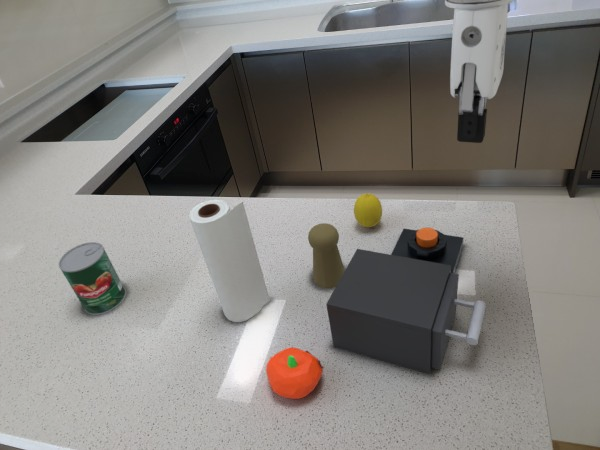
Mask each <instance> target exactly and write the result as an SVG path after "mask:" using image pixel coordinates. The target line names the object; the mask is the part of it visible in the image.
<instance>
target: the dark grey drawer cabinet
mask: <svg viewBox="0 0 600 450" xmlns="http://www.w3.org/2000/svg"><path fill="white" fill-rule="evenodd" d="M450 273H451V265H445V264H440V263H434V262H429V261H423V260H417V259H412V258H406V257H401V256H395V255H391V254H389V253H383V252H378V251H372V250H367V249H361V248H356V250H355V252H354V254H353V255H352V257H351V259H350V261H349V262H348V264H347V266H346V267H345V271H344V273H343V275H342V277H341V279H340V280H339V282H338V284H337V286H336V287H334V288H333V291H332V293H331V295H330V297H328V300H327V302H326V310H327V315H328V322H329V327H330V333H331V339H332V346H333V348H335V349H338V350H342V351H346V352H350V353H353V354H355V355H356V354H357V355H360V356H363V357H366V358H367V357H368V358H371V359H374V360H377V361H381V362H385V363H388V364H392V365H395V366H397V367H398V366H399V367H402V368H406V369H409V370H413V371H417V372H420V373H424V374H427V375H431V373H432V370H433V368H432V367H431V359H432V328H433V325H434V322H435V319H436V315H437V312H438V309H439V307H440V304H441V301H442V297H443V294H444V291H445V288H446V285H447V282H448V279H449V275H450Z"/></svg>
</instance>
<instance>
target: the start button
mask: <svg viewBox="0 0 600 450" xmlns="http://www.w3.org/2000/svg"><path fill="white" fill-rule="evenodd" d="M417 230H418V231H417V233H416V242H417V244H418V245H419V246H421V247H426V248H428V247H434V246H435V245H436V244H437V242H438V233H437V231H438V230H437V229H434V228H432V227H422V228H419V229H417ZM436 230H437V231H436Z"/></svg>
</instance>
